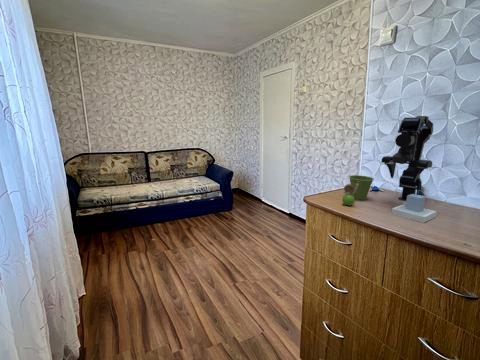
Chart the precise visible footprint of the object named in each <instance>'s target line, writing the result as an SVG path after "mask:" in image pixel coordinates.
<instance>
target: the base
mask: <svg viewBox="0 0 480 360" xmlns="http://www.w3.org/2000/svg"><path fill="white" fill-rule="evenodd" d="M405 206H406V203H404V204H401V205H398V206H395V207H392V210H391V215H394V216H399V217H402V218H406V219H409V220H413V221H416V222H420V223H422V224H425V223H426V222H429V221H430V220H432V219H435V218H436V216H437V211H436V210H431V209H430V208H429V209H428V208H425V207H424V210H423V211H420V212H415V211H411V210H407V209H405Z"/></svg>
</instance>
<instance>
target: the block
mask: <svg viewBox="0 0 480 360" xmlns="http://www.w3.org/2000/svg"><path fill="white" fill-rule="evenodd" d="M426 198H427V196H425V195H419V194H416V193H415V194H410V195H407V200H405V201H406V202H405V204H406V206H405V209H407V210H411V211H415V212H420V211H423V210H424V208H425V203H426V200H427V199H426Z"/></svg>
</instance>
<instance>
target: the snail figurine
mask: <svg viewBox="0 0 480 360" xmlns="http://www.w3.org/2000/svg"><path fill="white" fill-rule="evenodd" d="M358 186H359V181H358V184H356V185H355V189H354V186H353V185H351V184H350V183H348V184H346V185H344V187H343V190H344V191H343V193H344V195H343V196H342V203H343V204H344V205H345V206H352V205H354V203H355V201H356V199H355V198H354V196H353V195H352V194H354V193H355V192H356V191H357V188H358Z"/></svg>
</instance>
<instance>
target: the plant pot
mask: <svg viewBox="0 0 480 360" xmlns="http://www.w3.org/2000/svg"><path fill="white" fill-rule="evenodd" d="M348 178H349V182H350V183H349V184H351V185H353V186H354V189H355V185H356V184H358V181H359V186H358V188H357V191H356V192H355V193H354V194H352V195H353V196H354V198H355V201H356V200H358V201H359V200H362V201H365V200H366V199H367V197H368V194H369V191H370V188H371V185H372V184H373V181H374V180H375V178H374V177H371V176H367V175H359V174H358V175H357V174H356V175H354V174H352V175H348Z"/></svg>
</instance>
